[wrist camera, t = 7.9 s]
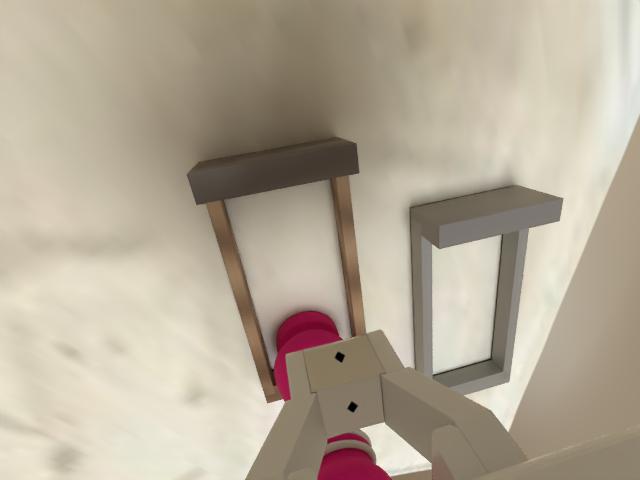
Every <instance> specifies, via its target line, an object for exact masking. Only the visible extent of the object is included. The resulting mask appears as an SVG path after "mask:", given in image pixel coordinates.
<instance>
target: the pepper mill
mask: <svg viewBox="0 0 640 480" xmlns="http://www.w3.org/2000/svg"><path fill="white" fill-rule="evenodd" d="M341 340H343V339H342V338H340V337H339V334H338V331H337V329H336V326H335V324H334V322H333V321H332V320H331V319H330V318H329V317H328V316H326V315H324V314H322V313H319V312H312V311H311V312H302V313H299V314H296V315H294V316H292V317H291V318H289V319H288V320H287V321H286V322H285V323H284V324H283V325H282V326H281V327H280V329H279V331H278V334H277V340H276V341H277V351H278V355H277V357H276V360H275V365H274V374H275V380H276V385H277V387H278V390H279V392H280V394H281V396H282V398H283V399H284V401H285V402H286V401H287V400H291V395H290V388H289V380H288V373H287V365H286V354H288V353H292V352H297V351H301V350H302V351H303V350H304V349H308V348H312V347H316V346H321V345H325V344H329V343H334V342H337V341H341ZM303 356H304V354H303ZM304 360H305V359H304ZM317 480H392V479H391V478H390V477H389V475H388V474H387V473H386V472H385V471H384V470H383V469H382V468H380V467H379V466H377V465H376V455H375V452H374V451H373V449H372V448H371V441H370V439H369V437H368V436H367V435H366V433H364V432H363V431H361V430H359V429H356V430H353V431H350V432H347V433H344V434H341V435H338V436H335V437H332V438H328V439H327V445H326V448H325V452H324V455H323V459H322V462H321V466H320V469H319V473H318V476H317Z"/></svg>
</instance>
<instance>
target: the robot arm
mask: <svg viewBox="0 0 640 480" xmlns="http://www.w3.org/2000/svg"><path fill="white" fill-rule="evenodd" d="M303 354H304V356H303ZM304 359H305V360H304ZM286 365H287V373H288V380H289V388H290V395H291V400H287V401H286V402H285V404H284V406H283V408H282V409H281V411H280V413H279V415H278V417H277V419H276V421H275V423H274V425H273V427H272V429H271V431H270V433H269V434H268V436H267V438H266V440H265V442H264V444H263V446H262V448H261V450H260V452H259V454H258V456H257V458H256V459H255V461H254V463H253V465H252V467H251V469H250V471H249V473H248V475H247V477H246V479H245V480H317V476H318V473H319V469H320V466H321V462H322V459H323V455H324V452H325V448H326V445H327V439H328V438H332V437H335V436H338V435H341V434H344V433H347V432H350V431H353V430H356V429H360V428H364V427H367V426H371V425H375V424H379V423H383V422H385V424H386V425H388V426H389V427H390V428H391V429H392V430H393V431H395V432H396V433H397V434H398V435H399V436H400V437H402V438H403V439H404V440H405V441H406V442H407V443H409V444H410V445H411V446H412V447H413V448H414V449H416V450H417V451H418V452H419V453H420V454H421V455H422V456H424V457H425V458H426V459H427V460H428V461H429V462H431V463H432V480H640V424H637V425H634V426H631V427H628V428H625V429H622V430H619V431H616V432H613V433H610V434H607V435H604V436H601V437H598V438H595V439H592V440H589V441H586V442H583V443H580V444H576V445H574V446H570V447H567V448H564V449H561V450H558V451H555V452H552V453H549V454H546V455H543V456H540V457H537V458H534V459H531V460H529V458H528V457H527V456H526V455H525V453H524V452H523V451H522V449H521V448H520V447H519V446H518V444H517V443H516V442H515V441H514V439H513V438H512V437H511V435H510V434H509V433H508V432H507V430H506V429H505V428H504V427H503V425H502V424H501V423H500V421H499V420H498V419H497V418H496V416H495V415H494V414H493V412H492V411H491V410H489V409H487V408H485V407H483V406H481V405H480V404H478V403H476V402H474V401H472V400H470V399H468V398H467V397H465V396H463V395H461V394H459V393H457V392H455V391H454V390H452V389H450V388H448V387H446V386H444V385H442V384H441V383H439V382H437V381H435V380H433V379H431V378H429V377H428V376H426V375H424V374H422V373H420V372H418V371H416V370H414V369H413V368H411V367H407V368H404V366H403V364H402V363H401V361H400V359H399V358H398V356H397V354H396V352H395V351H394V349H393V347H392V346H391V344H390V342H389V341H388V339H387V337H386V336H385V334H384V332H383V331H382V330H377V331H373V332H370V333H366V334H363V335H359V336H356V337H352V338H348V339H345V340H341V341H337V342H334V343H329V344H325V345H321V346H316V347H312V348H308V349H304V350H303V351H302V350H301V351H297V352H292V353H288V354H286Z"/></svg>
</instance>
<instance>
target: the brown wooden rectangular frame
mask: <svg viewBox="0 0 640 480" xmlns="http://www.w3.org/2000/svg"><path fill="white" fill-rule="evenodd" d="M358 173H359V166H358V155H357V145H356V143H354V142H350V141H347V140H344V139H341V138H338V137H337V138H332V139H326V140H321V141H315V142H309V143H304V144H298V145H293V146H287V147H281V148H276V149H270V150H265V151H259V152H254V153H248V154H242V155H237V156H231V157H226V158H220V159H214V160H209V161H203V162H199V163H198V164H197V165H196V166H195V167H194V168H193V169H192V170H191V171H190V172H189V173H188V174H187V176H188V179H189V183H190V186H191V189H192V192H193V195H194V198H195V201H196V204H197V205H199V204H204V203H206V205H207V208H208V211H209V215H210V218H211V221H212V225H213V228H214V231H215V234H216V238H217V241H218V244H219V247H220V251H221V254H222V257H223V260H224V264H225V267H226V270H227V273H228V277H229V280H230V283H231V287H232V290H233V293H234V296H235V300H236V303H237V306H238V309H239V313H240V316H241V319H242V322H243V326H244V329H245V332H246V335H247V339H248V342H249V345H250V349H251V352H252V355H253V358H254V362H255V365H256V368H257V371H258V375H259V378H260V381H261V384H262V388H263V391H264V394H265V397H266V401H267V403H270V402H274V401H278V400H281V399H283V398H282V396H281V394H280V392H279V390H278V387H277V385H276V380H275V374H274V371H272V370H271V367H270V363H269V360H268V356H267V352H266V349H265V345H264V342H263V338H262V335H261V331H260V328H259V324H258V321H257V317H256V313H255V310H254V306H253V303H252V299H251V296H250V292H249V289H248V285H247V282H246V278H245V274H244V271H243V267H242V264H241V260H240V257H239V253H238V250H237V246H236V242H235V239H234V235H233V232H232V228H231V225H230V221H229V218H228V214H227V211H226V207H225V203H224V199H230V198H235V197H240V196H245V195H250V194H255V193H260V192H265V191H271V190H276V189H281V188H286V187H291V186H296V185H301V184H306V183H312V182H317V181H322V180H327V179H331V182H332V190H333V197H334V204H335V212H336V219H337V226H338V234H339V241H340V249H341V256H342V263H343V271H344V278H345V286H346V293H347V300H348V308H349V315H350V322H351V330H352V337H356V336H359V335H363V334H366V328H365V319H364V310H363V301H362V292H361V283H360V274H359V265H358V257H357V248H356V239H355V230H354V221H353V212H352V203H351V194H350V185H349V177H348V175H353V174H358Z"/></svg>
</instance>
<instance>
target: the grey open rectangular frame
mask: <svg viewBox="0 0 640 480" xmlns="http://www.w3.org/2000/svg"><path fill="white" fill-rule="evenodd" d="M562 203H563V198H560V197H557V196H553V195H550V194H546V193H543V192H539V191H536V190H532V189H529V188H525V187H522V186H518V185H516V186H511V187H507V188H502V189H497V190H493V191H488V192H483V193H478V194H474V195H469V196H464V197H460V198H455V199H450V200H446V201H441V202H436V203H432V204H427V205H422V206H418V207H413V208H410V213H411V242H412V271H413V300H414V329H415V358H416V371H418V372H420V373H422V374H424V375H426V376H428V377H429V378H431V379H433V380H435V381H437V382H439V383H441V384H442V385H444V386H446V387H448V388H450V389H452V390H454V391H455V392H457V393H459V394H461V395H467V394H470V393H473V392H477V391H480V390H484V389H487V388H490V387H494V386H497V385H500V384H504V383H507V382H509V380H510V372H511V365H512V357H513V349H514V341H515V333H516V326H517V318H518V310H519V302H520V294H521V287H522V279H523V271H524V263H525V255H526V248H527V240H528V232H529V228H532V227H536V226H540V225H545V224H549V223H553V222H557V221H560V215H561V209H562ZM502 234H503V244H502V255H501V265H500V276H499V287H498V297H497V308H496V319H495V329H494V340H493V351H492V360H489V361H486V362H482V363H478V364H475V365H471V366H468V367H464V368H461V369H457V370H454V371H450V372H447V373H443V374H440V375H436V376H433V368H432V244H433V245H435V246H436V247H437V248H439V249H442V248H446V247H450V246H454V245H459V244H463V243H467V242H472V241H476V240H480V239H485V238H489V237H493V236H497V235H502Z"/></svg>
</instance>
